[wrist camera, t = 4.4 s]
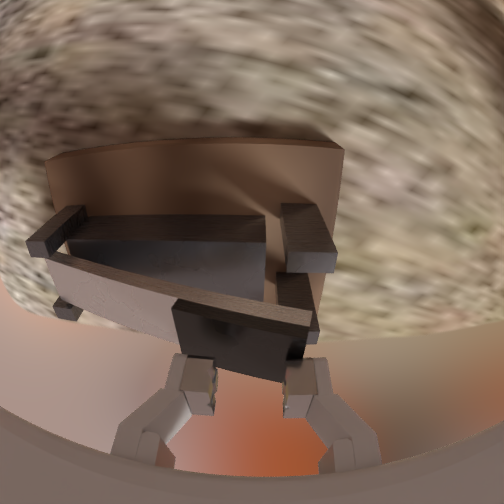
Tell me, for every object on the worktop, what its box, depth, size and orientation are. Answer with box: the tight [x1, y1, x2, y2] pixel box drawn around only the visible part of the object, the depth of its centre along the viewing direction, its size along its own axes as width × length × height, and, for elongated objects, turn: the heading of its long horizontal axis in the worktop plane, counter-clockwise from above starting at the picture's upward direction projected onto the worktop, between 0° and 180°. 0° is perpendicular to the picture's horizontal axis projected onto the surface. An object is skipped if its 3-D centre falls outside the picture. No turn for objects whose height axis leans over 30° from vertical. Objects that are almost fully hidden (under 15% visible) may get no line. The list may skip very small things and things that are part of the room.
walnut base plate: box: [45, 137, 344, 314], centre depth 18 cm, size 18×12×2 cm, turn 89°
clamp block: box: [25, 203, 338, 344], centre depth 15 cm, size 16×6×5 cm, turn 89°
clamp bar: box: [45, 251, 312, 383], centre depth 12 cm, size 14×3×1 cm, turn 89°
